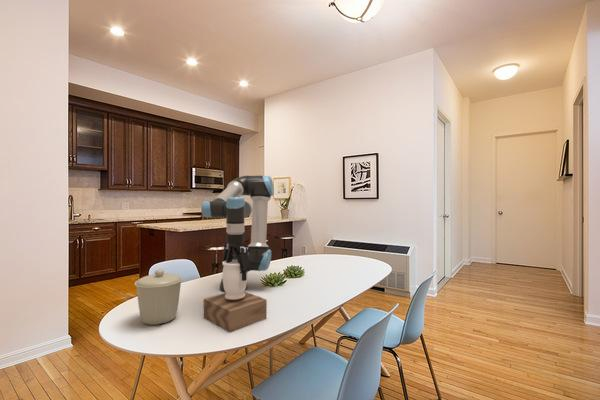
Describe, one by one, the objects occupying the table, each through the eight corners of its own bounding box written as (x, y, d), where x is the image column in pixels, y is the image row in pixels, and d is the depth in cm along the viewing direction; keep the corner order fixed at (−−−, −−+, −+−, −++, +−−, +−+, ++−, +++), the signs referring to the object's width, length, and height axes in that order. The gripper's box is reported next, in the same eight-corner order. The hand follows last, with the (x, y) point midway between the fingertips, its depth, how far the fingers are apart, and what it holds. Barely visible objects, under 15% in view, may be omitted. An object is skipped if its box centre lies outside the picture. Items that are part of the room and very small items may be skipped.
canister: (174, 328, 115) (174, 274, 115) (125, 330, 113) (125, 275, 113) (187, 311, 133) (188, 264, 133) (146, 312, 131) (146, 264, 131)
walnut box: (203, 317, 126) (203, 298, 126) (238, 306, 139) (238, 289, 139) (230, 332, 112) (230, 311, 112) (266, 318, 125) (266, 299, 125)
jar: (234, 302, 118) (235, 265, 118) (216, 298, 124) (217, 262, 124) (252, 295, 127) (252, 260, 127) (235, 291, 133) (235, 258, 133)
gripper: (213, 231, 130) (212, 281, 130) (244, 236, 115) (243, 293, 115) (227, 230, 136) (227, 278, 136) (259, 234, 120) (259, 289, 120)
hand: (235, 285), depth 125 cm, fingers closed on jar, 10 cm apart
